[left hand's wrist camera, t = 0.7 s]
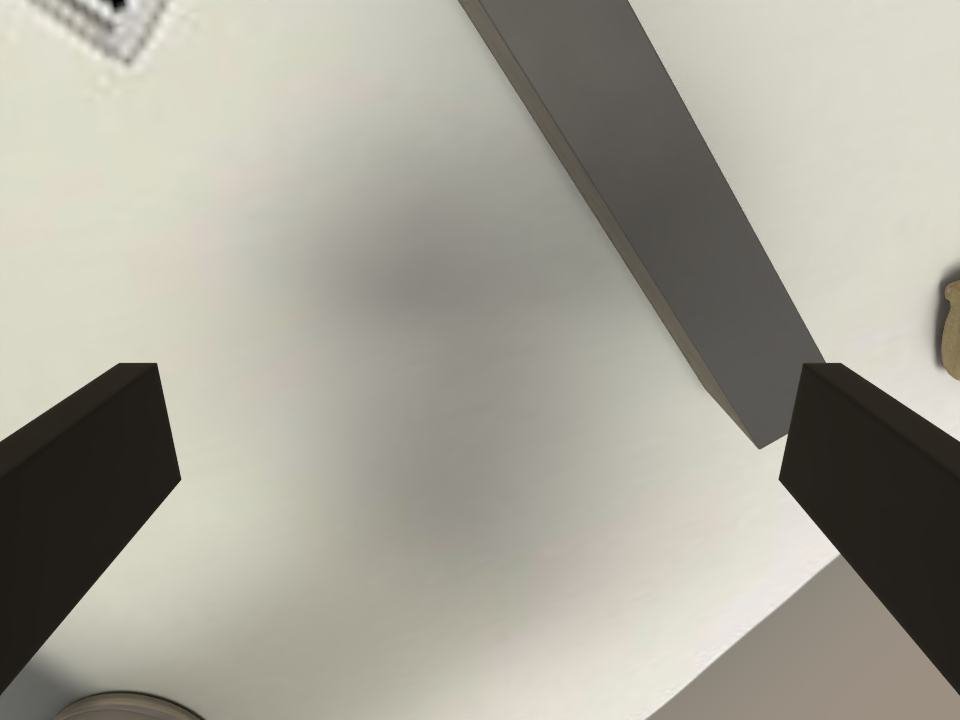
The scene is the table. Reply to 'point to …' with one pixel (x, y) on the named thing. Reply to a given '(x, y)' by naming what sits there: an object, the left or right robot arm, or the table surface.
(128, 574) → the table surface
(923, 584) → the left robot arm
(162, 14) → the table surface
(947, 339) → the sculpture
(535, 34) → the beam
